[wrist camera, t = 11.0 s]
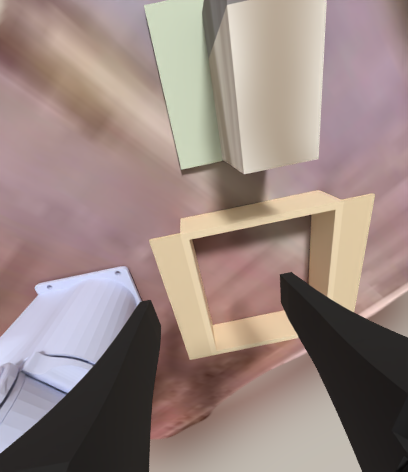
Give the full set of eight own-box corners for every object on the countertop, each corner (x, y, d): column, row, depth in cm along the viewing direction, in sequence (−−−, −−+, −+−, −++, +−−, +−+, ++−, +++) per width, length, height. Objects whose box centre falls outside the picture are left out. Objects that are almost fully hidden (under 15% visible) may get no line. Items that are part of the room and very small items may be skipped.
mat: (181, 168, 18) (181, 169, 18) (145, 9, 14) (143, 5, 13) (308, 142, 18) (311, 142, 18) (314, -27, 14) (318, -32, 13)
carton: (189, 333, 27) (190, 359, 24) (154, 224, 20) (149, 241, 17) (331, 304, 27) (351, 327, 24) (344, 184, 20) (375, 194, 17)
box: (222, 159, 18) (244, 174, 11) (201, 12, 14) (217, -91, 7) (270, 149, 18) (318, 158, 11) (263, -1, 14) (332, -116, 7)
